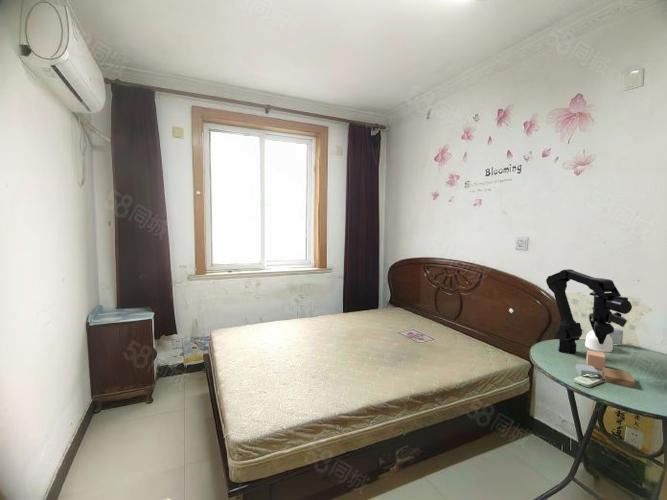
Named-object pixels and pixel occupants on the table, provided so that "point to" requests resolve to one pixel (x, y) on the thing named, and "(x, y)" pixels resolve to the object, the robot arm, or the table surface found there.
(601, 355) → the terracotta block
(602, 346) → the teardrop
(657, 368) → the table surface
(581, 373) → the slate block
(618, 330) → the medicine box
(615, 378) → the walnut block
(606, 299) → the robot arm
